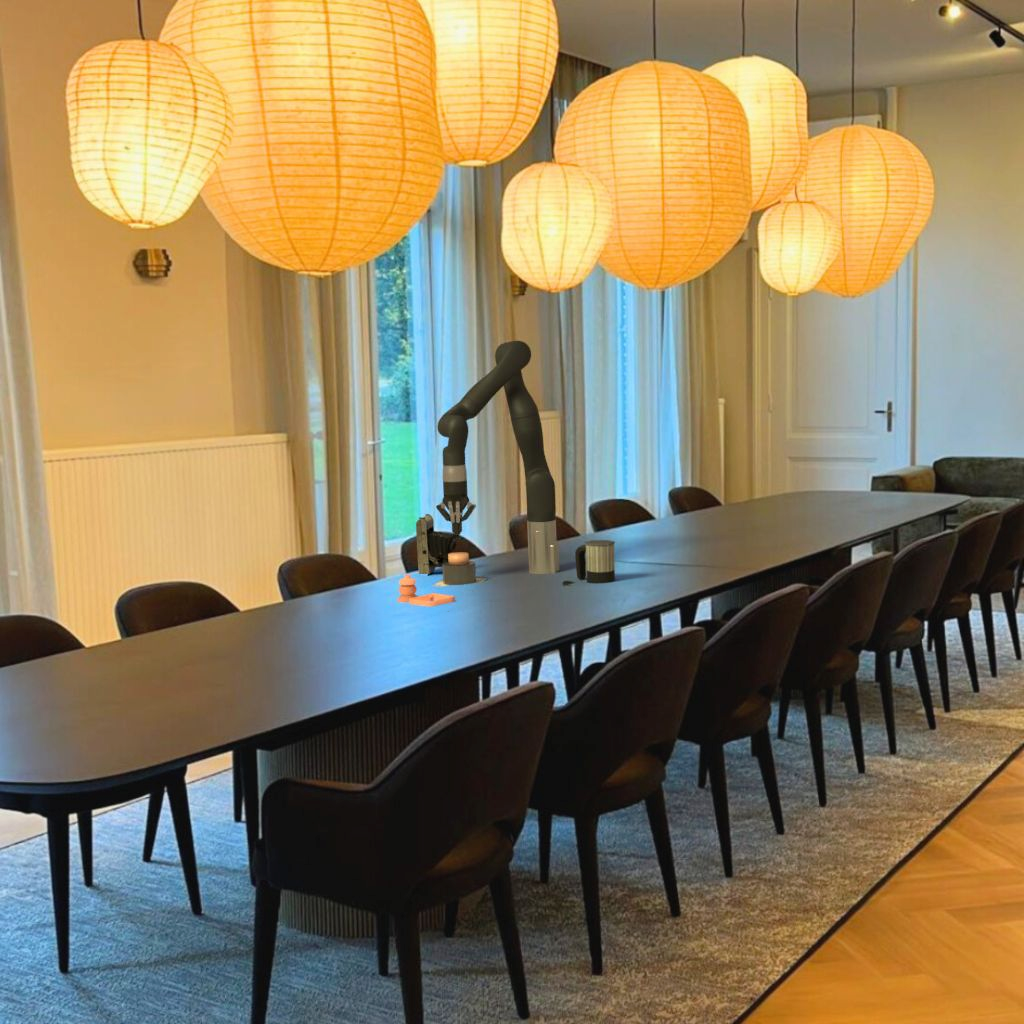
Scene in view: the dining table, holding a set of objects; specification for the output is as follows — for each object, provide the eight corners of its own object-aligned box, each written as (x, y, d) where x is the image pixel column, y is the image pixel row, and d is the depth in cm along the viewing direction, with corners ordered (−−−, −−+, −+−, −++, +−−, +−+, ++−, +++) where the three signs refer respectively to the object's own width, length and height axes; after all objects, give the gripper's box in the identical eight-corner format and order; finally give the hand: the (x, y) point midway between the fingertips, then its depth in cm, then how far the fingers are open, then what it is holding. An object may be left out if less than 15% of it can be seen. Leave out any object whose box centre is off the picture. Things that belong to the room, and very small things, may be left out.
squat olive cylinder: (479, 579, 417) (478, 560, 416) (469, 585, 408) (469, 566, 407) (449, 578, 420) (448, 560, 419) (439, 584, 411) (438, 565, 410)
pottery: (455, 610, 379) (453, 577, 378) (431, 616, 372) (429, 582, 371) (413, 603, 391) (411, 571, 390) (389, 609, 385) (387, 576, 383)
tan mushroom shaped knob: (472, 577, 416) (471, 552, 415) (466, 581, 410) (464, 555, 409) (453, 576, 418) (451, 552, 417) (446, 580, 412) (445, 555, 411)
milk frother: (621, 587, 402) (619, 539, 400) (601, 598, 388) (599, 548, 386) (578, 585, 408) (577, 538, 406) (557, 595, 395) (555, 546, 393)
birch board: (487, 582, 419) (487, 578, 419) (474, 591, 405) (474, 586, 405) (445, 582, 423) (445, 577, 422) (431, 590, 409) (431, 586, 409)
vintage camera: (463, 577, 430) (460, 517, 428) (418, 577, 433) (414, 517, 431) (470, 571, 440) (467, 513, 437) (425, 572, 443) (422, 513, 440)
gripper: (478, 477, 411) (480, 532, 414) (438, 478, 415) (441, 532, 417) (471, 480, 404) (473, 536, 407) (430, 480, 408) (433, 536, 410)
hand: (457, 534), depth 412 cm, fingers closed
